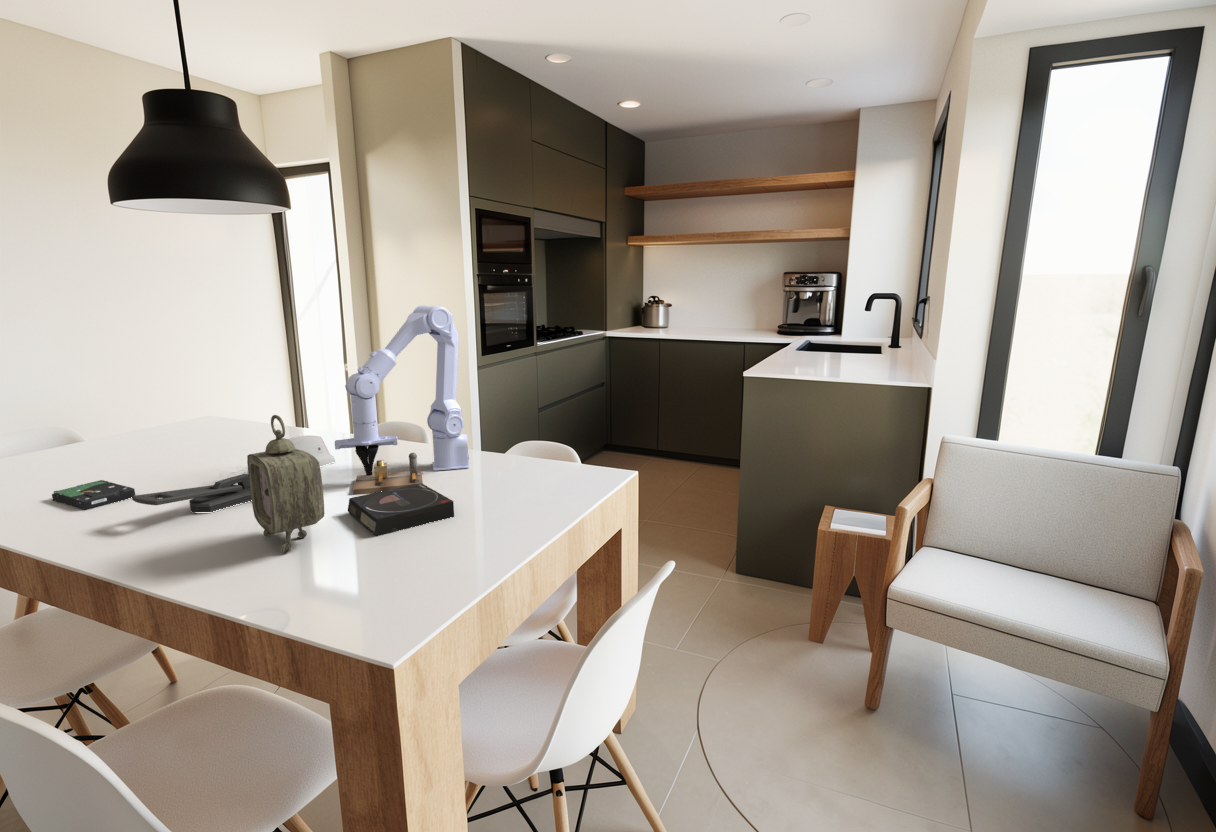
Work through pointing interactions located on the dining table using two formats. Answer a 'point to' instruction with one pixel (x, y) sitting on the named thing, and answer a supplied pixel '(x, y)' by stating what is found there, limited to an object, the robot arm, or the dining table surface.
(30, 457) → the dining table surface
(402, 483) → the plate
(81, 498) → the disk drive
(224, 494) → the dark grey long piece
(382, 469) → the gold perfume bottle
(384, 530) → the portable cd player
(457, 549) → the dining table surface
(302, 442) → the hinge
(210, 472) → the dining table surface
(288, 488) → the tabletop clock
